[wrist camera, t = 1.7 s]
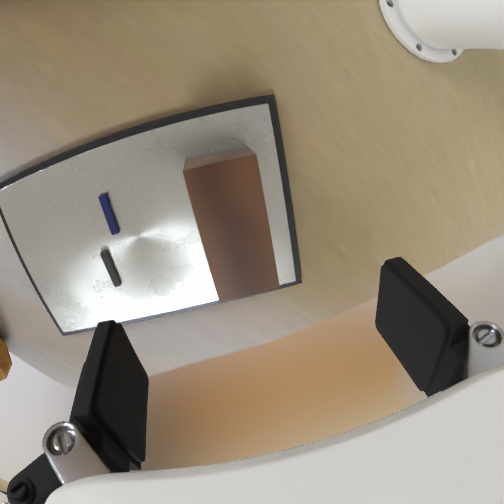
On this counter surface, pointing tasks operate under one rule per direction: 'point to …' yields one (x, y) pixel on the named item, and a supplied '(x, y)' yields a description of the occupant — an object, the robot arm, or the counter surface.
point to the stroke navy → (108, 214)
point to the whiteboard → (139, 216)
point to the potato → (4, 360)
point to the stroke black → (110, 268)
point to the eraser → (232, 221)
